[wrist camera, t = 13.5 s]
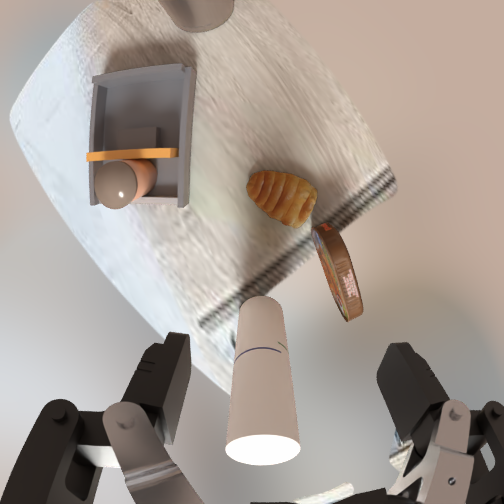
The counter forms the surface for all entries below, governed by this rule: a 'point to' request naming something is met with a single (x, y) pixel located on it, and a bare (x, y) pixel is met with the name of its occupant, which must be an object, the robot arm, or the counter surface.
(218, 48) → the counter surface
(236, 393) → the cylindrical container
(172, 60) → the counter surface
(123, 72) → the lane
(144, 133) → the pusher
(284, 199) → the pastry
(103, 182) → the jar
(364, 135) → the counter surface
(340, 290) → the tin
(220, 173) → the counter surface
